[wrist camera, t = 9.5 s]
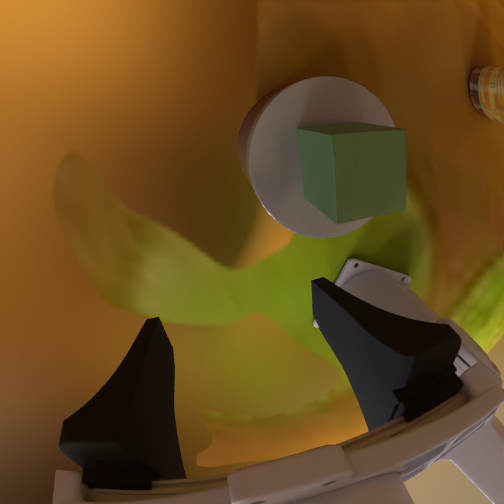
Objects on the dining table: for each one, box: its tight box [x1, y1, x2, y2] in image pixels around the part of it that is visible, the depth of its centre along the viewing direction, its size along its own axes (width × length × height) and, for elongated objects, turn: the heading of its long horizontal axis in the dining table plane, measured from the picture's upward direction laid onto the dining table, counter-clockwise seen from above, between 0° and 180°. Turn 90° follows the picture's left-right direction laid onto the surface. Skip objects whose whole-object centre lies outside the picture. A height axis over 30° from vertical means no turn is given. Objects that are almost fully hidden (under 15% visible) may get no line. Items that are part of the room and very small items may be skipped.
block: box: [297, 122, 407, 225], centre depth 14 cm, size 4×4×4 cm
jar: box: [238, 76, 395, 238], centre depth 18 cm, size 10×10×6 cm
